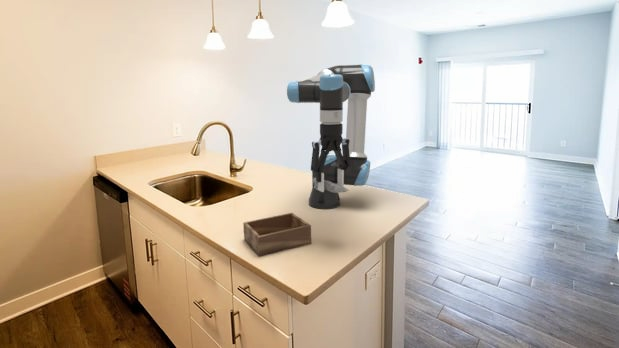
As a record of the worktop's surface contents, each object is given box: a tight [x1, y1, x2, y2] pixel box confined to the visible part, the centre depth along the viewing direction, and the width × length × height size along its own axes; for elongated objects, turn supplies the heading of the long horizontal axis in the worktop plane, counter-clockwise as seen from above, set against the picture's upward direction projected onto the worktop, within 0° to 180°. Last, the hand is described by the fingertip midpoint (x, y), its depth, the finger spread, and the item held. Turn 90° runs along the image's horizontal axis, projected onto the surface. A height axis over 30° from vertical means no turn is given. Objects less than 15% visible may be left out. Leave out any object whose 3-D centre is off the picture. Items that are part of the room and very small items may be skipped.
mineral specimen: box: [313, 178, 349, 194], centre depth 121 cm, size 6×12×4 cm, turn 44°
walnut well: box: [243, 212, 312, 258], centre depth 127 cm, size 15×20×7 cm
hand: (330, 189), depth 121 cm, fingers closed on mineral specimen, 7 cm apart
